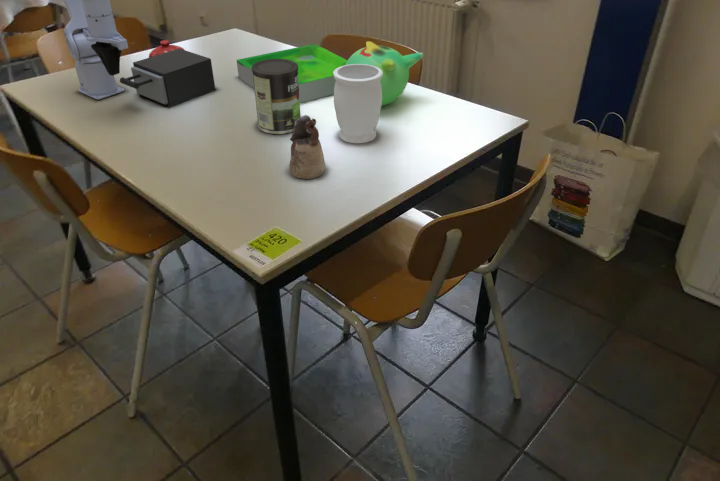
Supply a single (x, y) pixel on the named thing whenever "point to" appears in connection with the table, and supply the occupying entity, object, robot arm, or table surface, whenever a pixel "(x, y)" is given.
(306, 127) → the figurine
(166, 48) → the butter dish
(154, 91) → the drawer
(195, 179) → the table surface
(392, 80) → the toy bird
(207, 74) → the dark grey storage box
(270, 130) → the coffee can
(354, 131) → the jar
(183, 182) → the table surface
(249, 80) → the tray
